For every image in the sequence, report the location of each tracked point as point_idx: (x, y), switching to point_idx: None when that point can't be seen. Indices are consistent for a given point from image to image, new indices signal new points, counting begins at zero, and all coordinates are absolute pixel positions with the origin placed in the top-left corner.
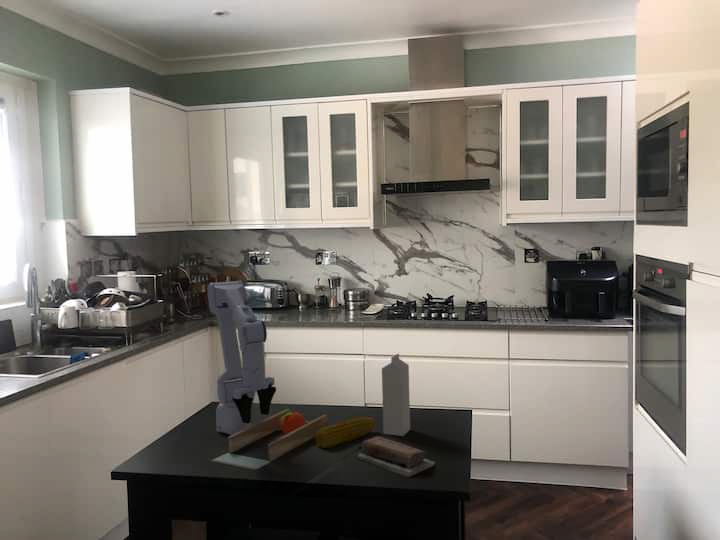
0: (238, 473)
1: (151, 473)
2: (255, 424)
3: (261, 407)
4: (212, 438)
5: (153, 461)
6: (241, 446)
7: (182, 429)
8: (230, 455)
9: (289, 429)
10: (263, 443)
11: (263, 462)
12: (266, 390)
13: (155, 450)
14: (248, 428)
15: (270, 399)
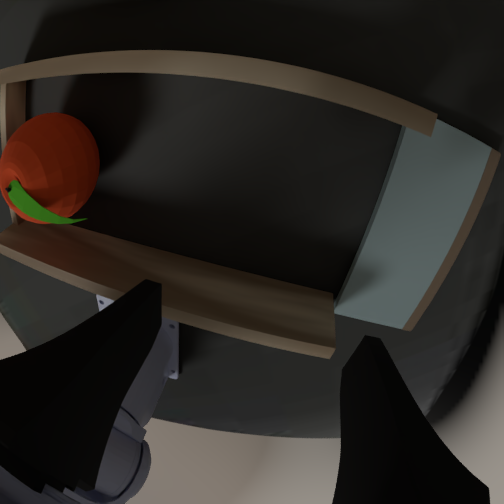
0: (483, 212)
1: (438, 396)
2: None
3: (140, 356)
4: (201, 375)
5: None
6: (274, 291)
7: (181, 420)
8: (360, 296)
9: (87, 156)
10: (177, 232)
11: (428, 139)
12: (53, 460)
13: (307, 431)
14: (203, 321)
15: (71, 353)
